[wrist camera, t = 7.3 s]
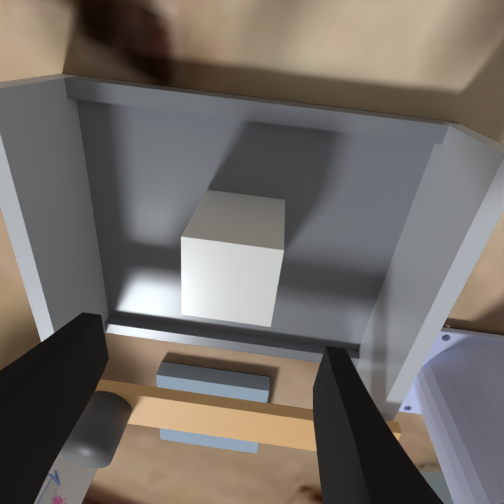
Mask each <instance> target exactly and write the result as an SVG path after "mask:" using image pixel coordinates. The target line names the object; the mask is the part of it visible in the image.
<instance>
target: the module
mask: <svg viewBox="0 0 504 504" xmlns="http://www.w3.org/2000/svg"><path fill="white" fill-rule="evenodd" d="M284 228H285V200H283V199H276V198H268V197H260V196H252V195H245V194H237V193H229V192H222V191H214V190H206V192H205V194H204V196H203V198H202V200H201V201H200V203H199V205H198V207H197V209H196V210H195V212H194V214H193V216H192V218H191V219H190V221H189V223H188V225H187V227H186V228H185V230H184V232H183V234H182V236H181V304H182V315H188V316H195V317H202V318H210V319H217V320H224V321H231V322H238V323H246V324H253V325H260V326H267V327H271V322H272V316H273V310H274V305H275V299H276V293H277V287H278V282H279V276H280V270H281V265H282V259H283V253H284Z"/></svg>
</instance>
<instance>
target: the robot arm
mask: <svg viewBox="0 0 504 504" xmlns="http://www.w3.org/2000/svg"><path fill="white" fill-rule="evenodd" d="M444 335H446V336H444ZM108 359H109V358H108V352H107V346H106V340H105V334H104V328H103V323H102V317H101V315H99V314H92V313H85V312H82V313H81V314H79V315H78V316H77V317H75V318H74V319H72V320H71V321H70V322H68V323H67V324H66V325H64V326H63V327H61V328H60V329H59V330H57V331H56V332H55V333H53V334H52V335H51V336H49V337H48V338H46V339H45V340H44V341H42V342H41V343H40V344H38V345H37V346H35V347H34V348H33V349H31V350H30V351H28V352H27V353H25V354H24V355H23V356H21V357H20V358H18V359H17V360H16V361H14V362H13V363H11V364H10V365H8V366H6V367H5V368H3V369H2V370H0V504H34V503H35V500H36V498H37V496H38V494H39V492H40V490H41V488H42V485H43V483H44V481H45V479H46V477H47V475H48V473H49V471H50V469H51V467H52V465H53V463H54V461H55V460H56V458H57V456H58V454H59V453H60V451H61V449H62V447H63V446H64V444H65V442H66V440H67V439H68V437H69V435H70V434H71V432H72V430H73V428H74V427H75V425H76V423H77V421H78V420H79V418H80V416H81V414H82V413H83V411H84V409H85V407H86V406H87V404H88V402H89V400H90V399H91V397H92V395H93V393H94V391H95V390H96V388H97V385H98V383H99V381H100V378H101V376H102V374H103V371H104V369H105V367H106V364H107V362H108ZM398 411H401V412H408V413H415V414H422V416H423V419H424V421H425V424H426V427H427V430H428V433H429V435H430V438H431V441H432V444H433V447H434V449H435V452H436V455H437V458H438V461H439V463H440V466H441V469H442V472H443V475H444V477H445V480H446V483H447V486H448V489H449V491H450V494H451V496H452V500H453V502H454V504H504V336H503V335H496V334H489V333H481V332H474V331H467V330H459V329H452V328H445V327H442V329H441V331H440V332H439V334H438V336H437V338H436V340H435V342H434V344H433V346H432V348H431V350H430V351H429V353H428V355H427V357H426V359H425V361H424V363H423V365H422V367H421V369H420V370H419V372H418V374H417V376H416V378H415V380H414V382H413V384H412V386H411V388H410V389H409V391H408V393H407V395H406V397H405V399H404V401H403V403H402V405H401V407H400V408H399V410H398ZM313 422H314V431H315V440H316V448H317V457H318V465H319V474H320V482H321V490H322V499H323V504H444V503H443V502H442V501H441V499H440V498H439V497H438V496H437V494H436V493H435V492H434V491H433V489H432V488H431V487H430V486H429V484H428V483H427V482H426V480H425V479H424V477H423V476H422V475H421V473H420V472H419V471H418V469H417V468H416V466H415V465H414V464H413V462H412V461H411V459H410V458H409V457H408V455H407V454H406V452H405V451H404V449H403V448H402V446H401V445H400V443H399V442H398V440H397V439H396V437H395V436H394V434H393V432H392V431H391V429H390V428H389V426H388V425H387V423H386V421H385V420H384V418H383V416H382V415H381V413H380V411H379V410H378V408H377V406H376V405H375V403H374V401H373V399H372V398H371V396H370V394H369V392H368V391H367V389H366V387H365V385H364V383H363V381H362V380H361V378H360V376H359V374H358V372H357V370H356V368H355V366H354V364H353V362H352V360H351V358H350V356H349V354H348V352H347V351H346V349H345V348H337V347H330V346H325V350H324V353H323V356H322V360H321V363H320V366H319V370H318V373H317V376H316V380H315V383H314V386H313Z"/></svg>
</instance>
